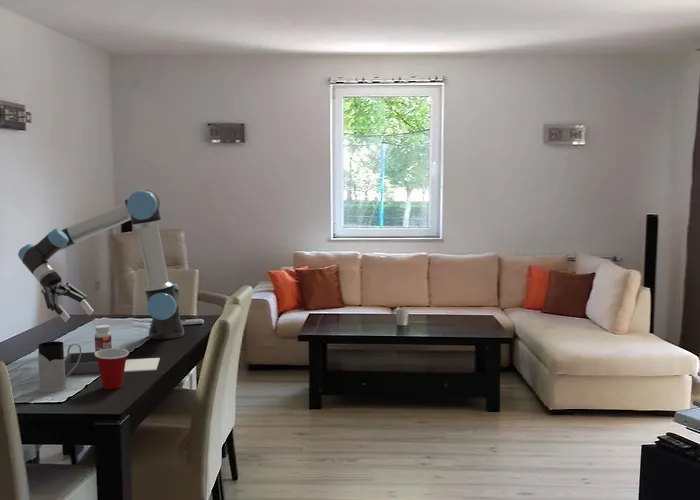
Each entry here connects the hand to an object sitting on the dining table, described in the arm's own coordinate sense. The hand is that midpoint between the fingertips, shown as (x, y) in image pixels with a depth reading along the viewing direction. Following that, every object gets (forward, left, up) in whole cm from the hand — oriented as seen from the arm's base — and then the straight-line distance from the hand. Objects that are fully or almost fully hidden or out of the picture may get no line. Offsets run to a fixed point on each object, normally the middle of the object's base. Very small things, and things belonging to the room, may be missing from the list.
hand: (79, 316), depth 271 cm
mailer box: (-15, +25, -15) cm, 33 cm away
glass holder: (-2, +47, -15) cm, 50 cm away
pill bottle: (-9, +5, -15) cm, 18 cm away
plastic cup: (-19, +51, -15) cm, 57 cm away
